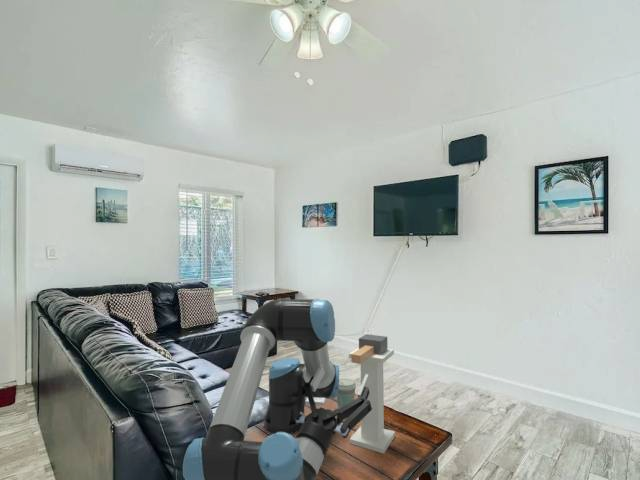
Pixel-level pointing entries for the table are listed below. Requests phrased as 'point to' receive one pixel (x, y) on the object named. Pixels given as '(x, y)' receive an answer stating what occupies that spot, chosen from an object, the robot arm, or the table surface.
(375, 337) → the hammer
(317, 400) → the external hard drive
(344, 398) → the coffee cup
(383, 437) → the tall stand
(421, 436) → the table surface
